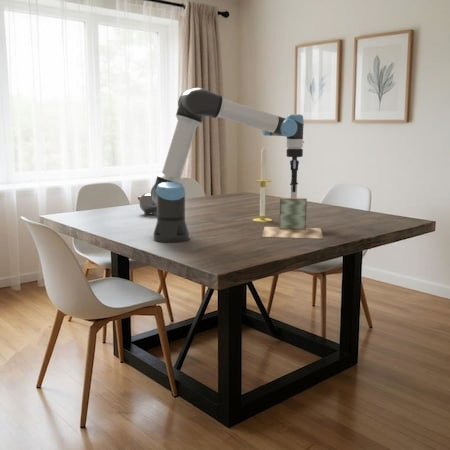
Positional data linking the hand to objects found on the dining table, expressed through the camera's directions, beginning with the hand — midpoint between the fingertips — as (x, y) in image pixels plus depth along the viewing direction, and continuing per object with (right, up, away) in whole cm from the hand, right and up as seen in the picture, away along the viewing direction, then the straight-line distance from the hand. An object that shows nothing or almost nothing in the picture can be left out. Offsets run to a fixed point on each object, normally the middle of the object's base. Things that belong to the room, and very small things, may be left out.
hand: (293, 198), depth 256 cm
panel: (-1, -14, -6) cm, 16 cm away
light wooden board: (-2, -16, -14) cm, 22 cm away
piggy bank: (-71, -7, +31) cm, 78 cm away
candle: (-14, -11, +16) cm, 24 cm away
